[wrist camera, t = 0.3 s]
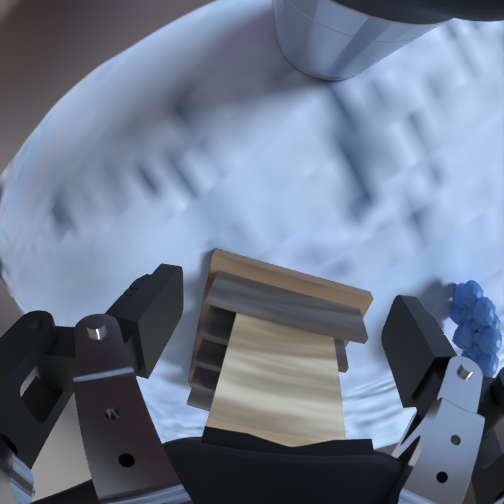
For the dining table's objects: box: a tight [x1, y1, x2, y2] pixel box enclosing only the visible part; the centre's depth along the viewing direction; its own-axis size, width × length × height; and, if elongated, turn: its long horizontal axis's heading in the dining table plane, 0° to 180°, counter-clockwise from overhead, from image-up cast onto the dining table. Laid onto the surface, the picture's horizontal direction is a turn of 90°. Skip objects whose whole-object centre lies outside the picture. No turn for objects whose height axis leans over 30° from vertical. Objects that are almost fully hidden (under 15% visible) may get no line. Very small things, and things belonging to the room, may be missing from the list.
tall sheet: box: [206, 313, 346, 447], centre depth 24 cm, size 2×10×16 cm, turn 76°
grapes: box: [450, 280, 502, 377], centre depth 25 cm, size 12×7×12 cm, turn 17°
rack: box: [187, 249, 373, 411], centre depth 33 cm, size 22×18×6 cm
